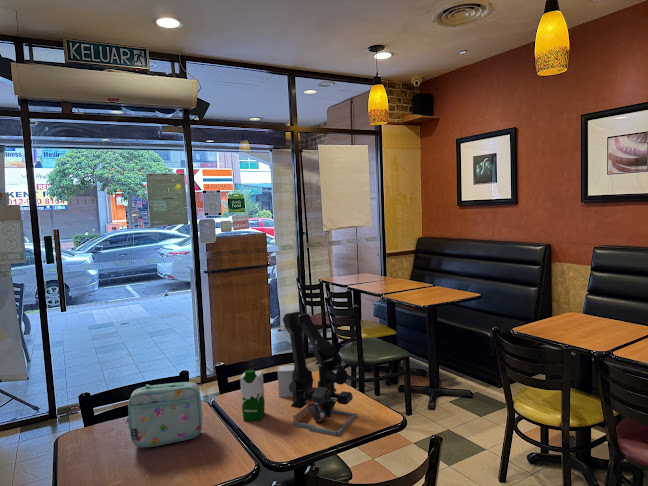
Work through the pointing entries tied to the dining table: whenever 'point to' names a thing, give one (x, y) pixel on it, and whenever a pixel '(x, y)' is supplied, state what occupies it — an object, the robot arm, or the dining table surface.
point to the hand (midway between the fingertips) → (329, 417)
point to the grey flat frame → (303, 413)
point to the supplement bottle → (316, 410)
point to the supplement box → (285, 380)
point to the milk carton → (252, 395)
